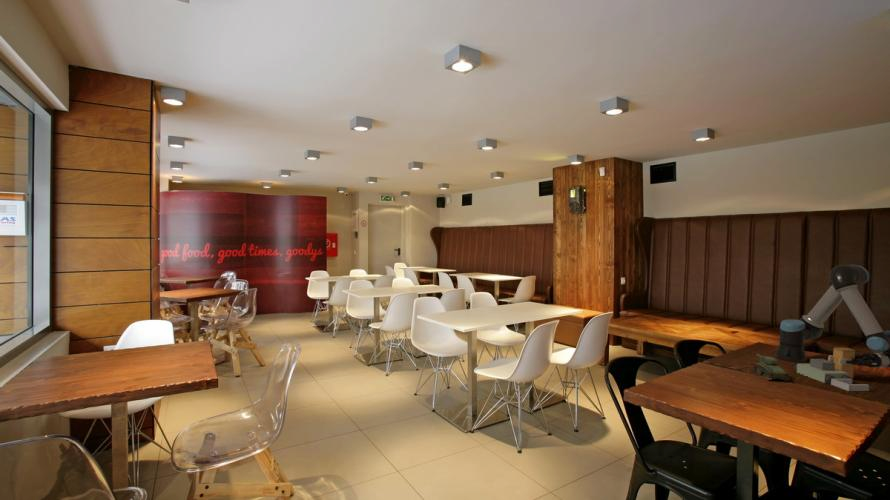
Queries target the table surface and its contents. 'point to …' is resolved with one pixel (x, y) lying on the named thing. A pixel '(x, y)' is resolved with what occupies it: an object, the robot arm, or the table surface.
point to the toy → (770, 369)
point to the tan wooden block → (844, 354)
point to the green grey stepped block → (829, 374)
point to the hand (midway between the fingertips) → (834, 359)
